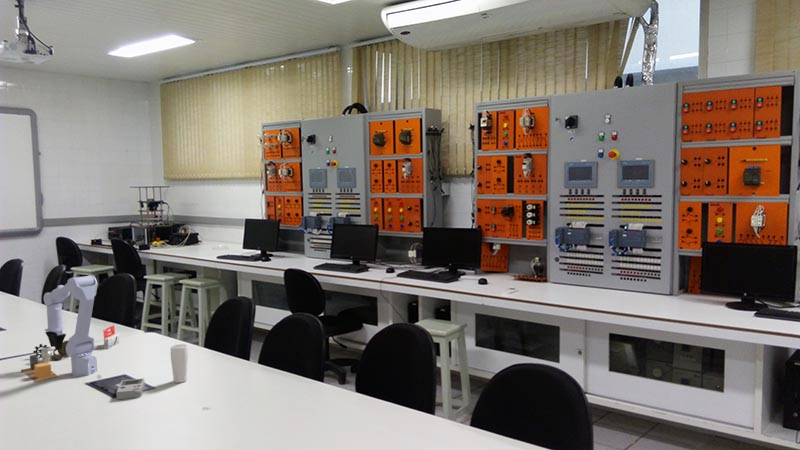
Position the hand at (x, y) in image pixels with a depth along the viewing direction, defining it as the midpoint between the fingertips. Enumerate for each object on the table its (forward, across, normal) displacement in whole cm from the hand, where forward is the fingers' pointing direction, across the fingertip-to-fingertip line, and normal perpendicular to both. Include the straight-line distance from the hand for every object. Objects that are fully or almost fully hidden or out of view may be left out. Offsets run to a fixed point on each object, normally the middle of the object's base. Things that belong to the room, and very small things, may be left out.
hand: (56, 348), depth 264 cm
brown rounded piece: (+10, -19, +7) cm, 23 cm away
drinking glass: (+10, +58, +31) cm, 66 cm away
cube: (+8, +12, -8) cm, 17 cm away
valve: (+10, -20, 0) cm, 22 cm away
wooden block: (+9, +6, -8) cm, 14 cm away
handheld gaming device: (+10, +57, +11) cm, 59 cm away
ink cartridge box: (+10, -22, +31) cm, 39 cm away
